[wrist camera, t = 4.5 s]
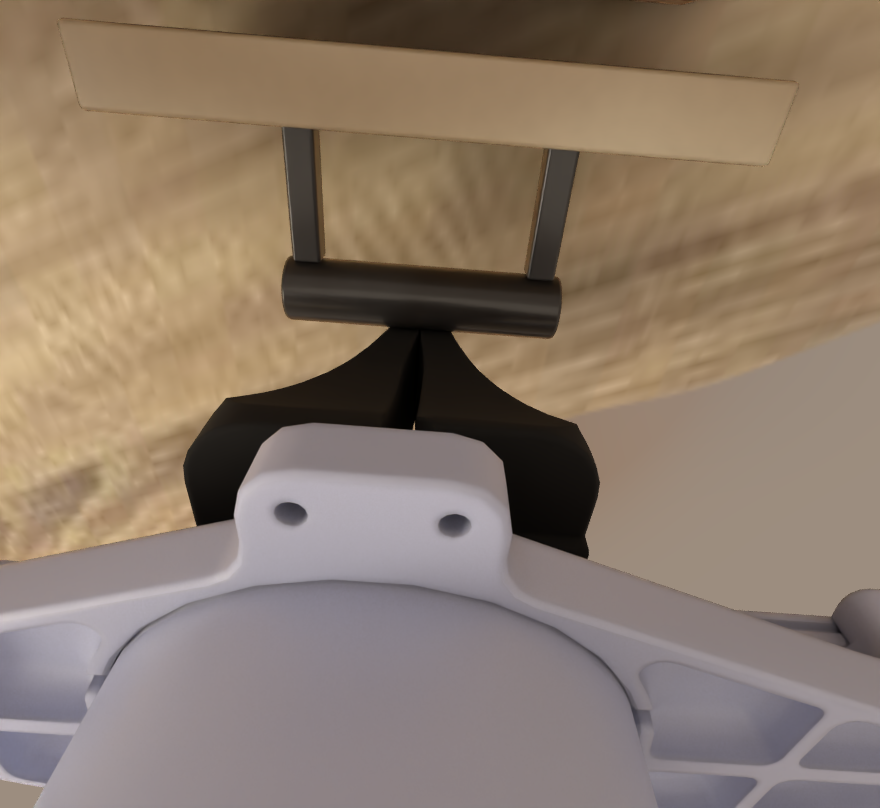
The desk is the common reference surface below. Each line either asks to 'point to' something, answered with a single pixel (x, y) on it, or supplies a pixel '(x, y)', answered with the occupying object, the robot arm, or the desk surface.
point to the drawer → (429, 117)
